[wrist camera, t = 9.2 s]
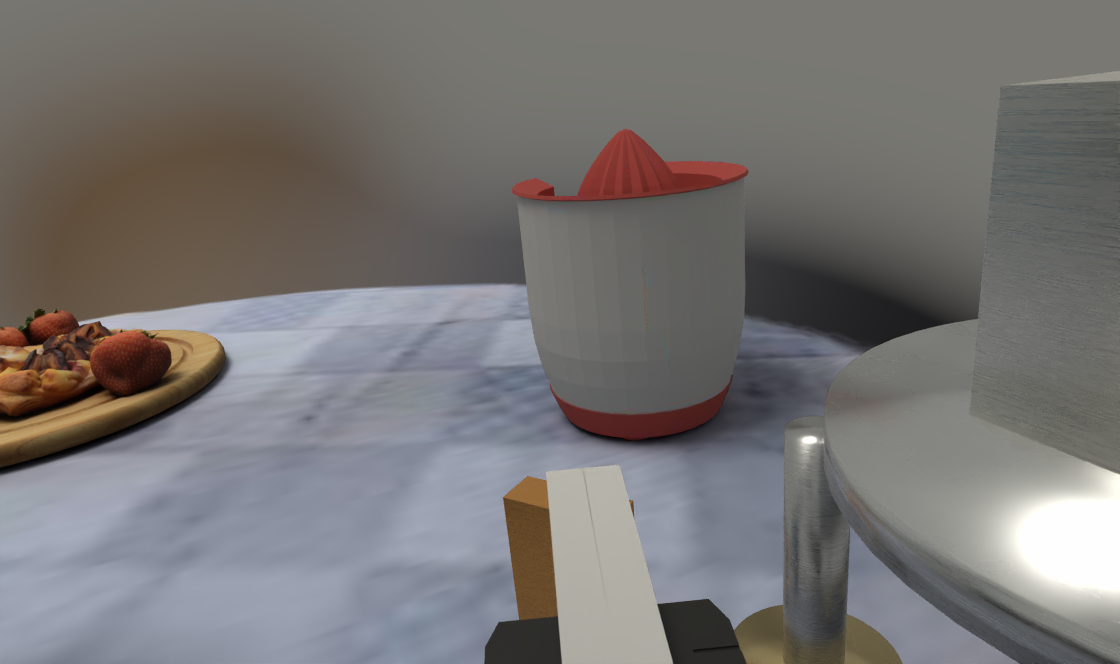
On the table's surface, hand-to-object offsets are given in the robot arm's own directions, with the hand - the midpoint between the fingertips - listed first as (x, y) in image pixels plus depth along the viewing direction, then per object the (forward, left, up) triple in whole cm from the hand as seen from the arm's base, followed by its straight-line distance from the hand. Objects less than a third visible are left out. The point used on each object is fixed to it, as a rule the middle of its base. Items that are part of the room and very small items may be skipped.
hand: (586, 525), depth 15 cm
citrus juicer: (-33, +18, -15) cm, 40 cm away
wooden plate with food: (-64, -26, -15) cm, 71 cm away
